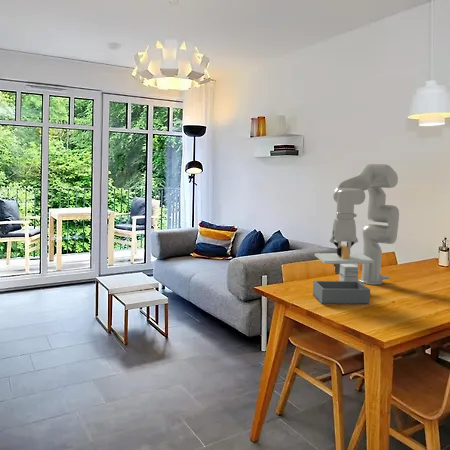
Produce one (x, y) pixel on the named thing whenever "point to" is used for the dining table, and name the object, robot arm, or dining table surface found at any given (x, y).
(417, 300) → the dining table surface
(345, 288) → the tub
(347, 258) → the lid
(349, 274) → the supplement box
